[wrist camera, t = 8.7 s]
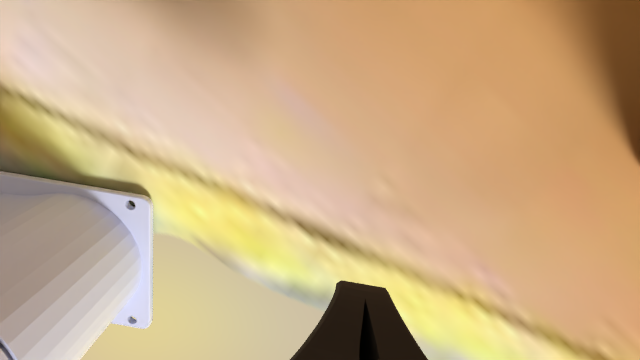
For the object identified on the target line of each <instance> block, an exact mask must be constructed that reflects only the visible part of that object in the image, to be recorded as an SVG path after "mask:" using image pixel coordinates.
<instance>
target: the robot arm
mask: <svg viewBox="0 0 640 360" xmlns="http://www.w3.org/2000/svg"><path fill="white" fill-rule="evenodd" d="M129 200H131V201H133V202H134V203H135V206H136V207H133V206H131V205H130V203H129ZM152 307H153V203H152V201H151V199H150V198H149V197H147V196H145V195H140V194H134V193H128V192H122V191H117V190H111V189H105V188H99V187H93V186H87V185H81V184H75V183H69V182H63V181H57V180H51V179H45V178H39V177H33V176H27V175H21V174H15V173H9V172H3V171H0V360H80V359H81V358H82V356H83V355H84V354H85V353H86V351H87V350H88V349H89V348H90V347H91V345H92V344H93V343H94V342H95V341H96V340H97V338H98V337H99V336H100V335H101V334H102V332H103V331H104V330H105V329H106V328H107V327H108V325H109V324H110V323H113V324H119V325H124V326H130V327H136V328H142V329H145V328H148V326H149V325H150V324H151V322H152V320H153V319H152V318H153V308H152ZM131 316H133V317H135V318H136V320H135V319H133V318H132V317H131ZM290 360H428V359H427V358H426V356H425V355H424V353H423V352H422V350H421V349H420V347H419V346H418V344H417V343H416V341H415V340H414V338H413V336H412V335H411V333H410V331H409V330H408V328H407V327H406V325H405V323H404V321H403V320H402V318H401V316H400V314H399V312H398V311H397V309H396V307H395V305H394V303H393V301H392V299H391V297H390V295H389V293H388V291H387V290H386V289H385V288H382V287H376V286H370V285H365V284H359V283H353V282H347V281H340V282H338V283H337V284H336V290H335V293H334V295H333V298H332V300H331V302H330V304H329V306H328V308H327V310H326V311H325V313H324V315H323V316H322V318H321V320H320V322H319V323H318V325H317V326H316V328H315V329H314V330H313V332H312V333H311V334H310V336H309V337H308V338H307V340H306V341H305V343H304V344H303V345H302V346H301V347H300V349H299V350H298V351H297V352H296V353H295V355H294V356H293V357H292V358H291V359H290Z"/></svg>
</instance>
